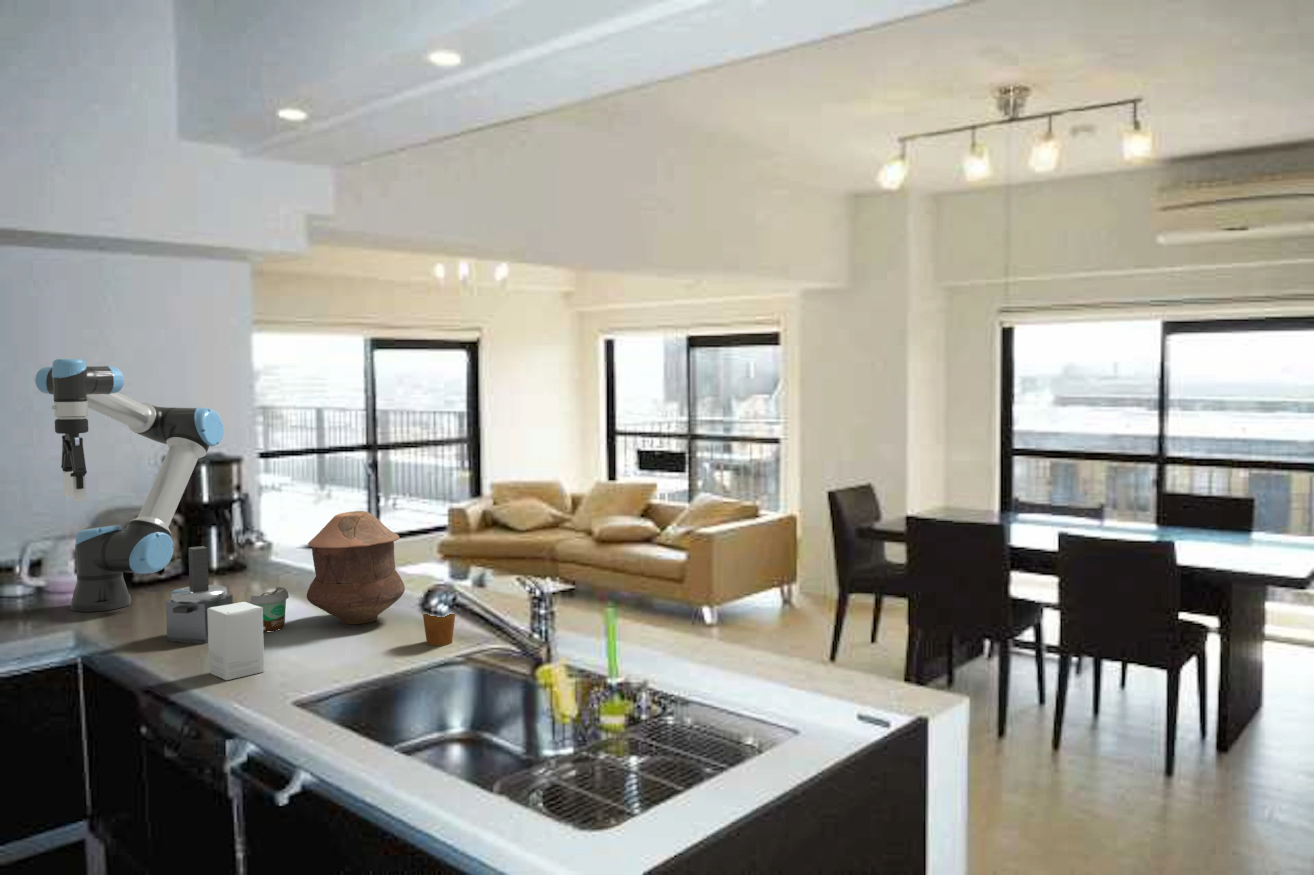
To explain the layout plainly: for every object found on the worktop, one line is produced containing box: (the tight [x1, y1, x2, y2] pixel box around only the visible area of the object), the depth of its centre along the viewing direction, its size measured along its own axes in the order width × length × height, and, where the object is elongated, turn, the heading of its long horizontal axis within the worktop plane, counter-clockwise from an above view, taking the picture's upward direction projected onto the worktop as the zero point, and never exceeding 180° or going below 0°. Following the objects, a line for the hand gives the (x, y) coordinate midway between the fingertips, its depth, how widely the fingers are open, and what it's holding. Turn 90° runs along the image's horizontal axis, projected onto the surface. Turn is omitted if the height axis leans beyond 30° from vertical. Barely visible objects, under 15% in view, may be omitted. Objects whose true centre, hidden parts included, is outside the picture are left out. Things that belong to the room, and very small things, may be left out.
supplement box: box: [207, 601, 265, 681], centre depth 218 cm, size 9×9×15 cm
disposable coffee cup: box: [419, 593, 456, 647], centre depth 243 cm, size 10×10×12 cm
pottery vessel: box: [306, 510, 406, 625], centre depth 264 cm, size 26×26×30 cm
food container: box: [249, 586, 290, 633], centre depth 256 cm, size 12×6×10 cm, turn 168°
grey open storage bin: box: [165, 593, 234, 645], centre depth 248 cm, size 15×11×10 cm
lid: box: [170, 545, 228, 604], centre depth 248 cm, size 13×13×13 cm
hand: (74, 498), depth 255 cm, fingers open, 13 cm apart
